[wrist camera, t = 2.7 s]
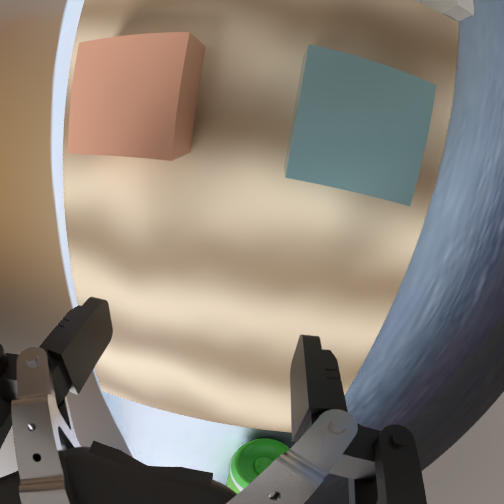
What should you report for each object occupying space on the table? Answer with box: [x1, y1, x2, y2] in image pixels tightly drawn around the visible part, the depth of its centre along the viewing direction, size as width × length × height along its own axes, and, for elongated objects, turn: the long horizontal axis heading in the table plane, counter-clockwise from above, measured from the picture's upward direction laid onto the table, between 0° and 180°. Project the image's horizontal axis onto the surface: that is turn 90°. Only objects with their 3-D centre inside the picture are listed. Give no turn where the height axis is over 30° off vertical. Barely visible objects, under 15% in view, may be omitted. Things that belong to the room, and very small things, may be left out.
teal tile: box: [284, 44, 436, 206], centre depth 10 cm, size 5×5×2 cm
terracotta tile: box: [68, 32, 206, 161], centre depth 10 cm, size 5×5×2 cm
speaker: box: [226, 438, 290, 494], centre depth 28 cm, size 18×7×8 cm, turn 173°
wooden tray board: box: [63, 0, 459, 432], centre depth 16 cm, size 30×19×4 cm, turn 171°
